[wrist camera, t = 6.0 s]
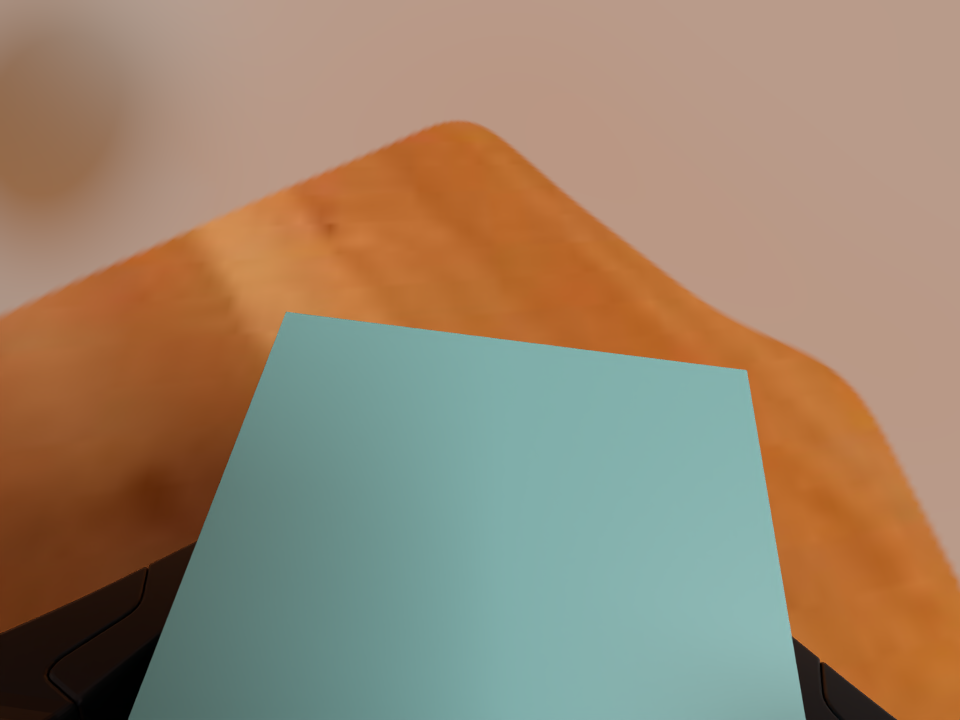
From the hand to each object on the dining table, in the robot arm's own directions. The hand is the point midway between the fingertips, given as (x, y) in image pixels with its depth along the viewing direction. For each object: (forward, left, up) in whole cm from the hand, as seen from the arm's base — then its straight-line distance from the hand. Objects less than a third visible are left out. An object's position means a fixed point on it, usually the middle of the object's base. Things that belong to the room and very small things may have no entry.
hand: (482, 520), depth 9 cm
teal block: (-1, +1, -5) cm, 6 cm away
